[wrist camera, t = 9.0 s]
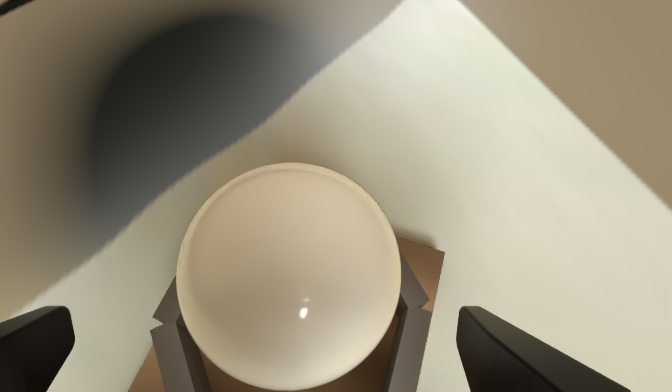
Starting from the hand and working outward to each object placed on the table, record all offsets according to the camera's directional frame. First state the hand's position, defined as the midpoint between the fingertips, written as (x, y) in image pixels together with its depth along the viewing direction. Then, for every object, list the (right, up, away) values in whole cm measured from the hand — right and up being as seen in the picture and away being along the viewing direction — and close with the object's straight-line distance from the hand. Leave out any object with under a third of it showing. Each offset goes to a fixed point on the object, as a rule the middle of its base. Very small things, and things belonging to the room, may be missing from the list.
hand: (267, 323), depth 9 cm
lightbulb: (0, -4, +9) cm, 10 cm away
